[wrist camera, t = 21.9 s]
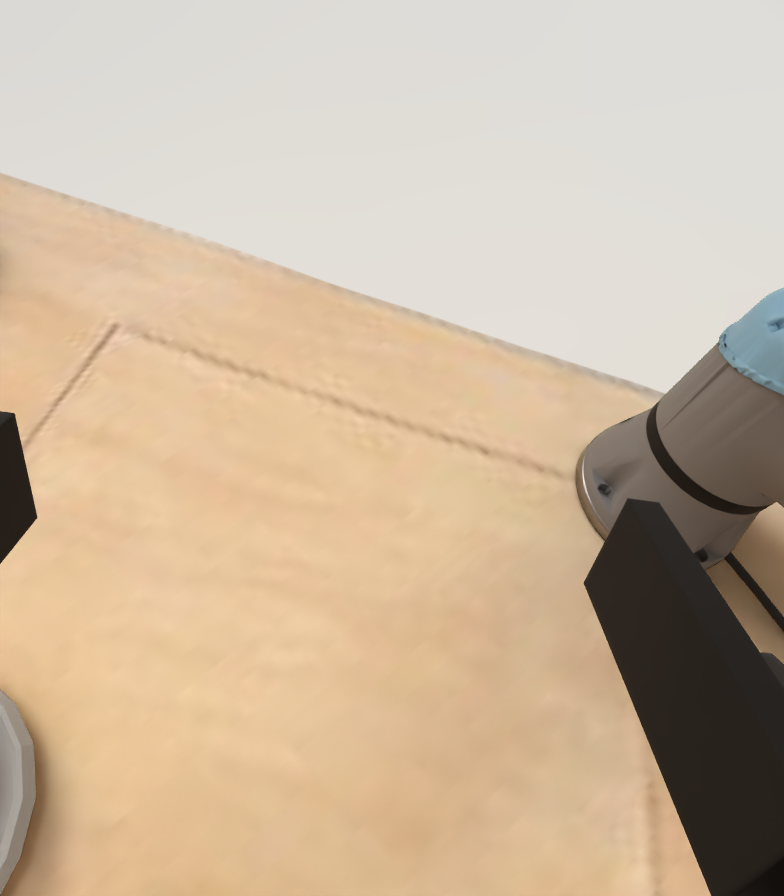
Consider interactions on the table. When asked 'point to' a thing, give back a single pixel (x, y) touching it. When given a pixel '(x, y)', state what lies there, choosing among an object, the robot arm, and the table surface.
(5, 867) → the frying pan
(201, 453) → the table surface
